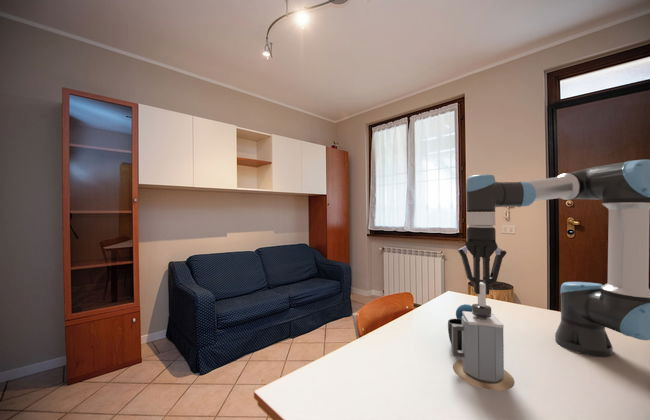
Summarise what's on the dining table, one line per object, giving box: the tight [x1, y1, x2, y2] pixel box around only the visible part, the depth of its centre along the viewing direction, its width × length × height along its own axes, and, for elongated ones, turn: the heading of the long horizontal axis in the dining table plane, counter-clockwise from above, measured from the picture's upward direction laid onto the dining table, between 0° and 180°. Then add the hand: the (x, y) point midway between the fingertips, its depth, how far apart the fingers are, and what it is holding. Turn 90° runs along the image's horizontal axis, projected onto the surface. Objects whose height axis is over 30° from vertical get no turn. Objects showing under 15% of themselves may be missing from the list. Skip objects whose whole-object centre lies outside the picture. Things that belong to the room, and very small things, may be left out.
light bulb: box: [455, 303, 472, 319], centre depth 108 cm, size 8×8×12 cm
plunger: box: [471, 303, 492, 319], centre depth 82 cm, size 8×8×12 cm
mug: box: [447, 318, 462, 351], centre depth 97 cm, size 8×12×10 cm
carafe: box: [451, 311, 505, 384], centre depth 82 cm, size 13×10×17 cm
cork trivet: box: [452, 358, 515, 392], centre depth 82 cm, size 16×16×1 cm
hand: (481, 304), depth 82 cm, fingers closed
